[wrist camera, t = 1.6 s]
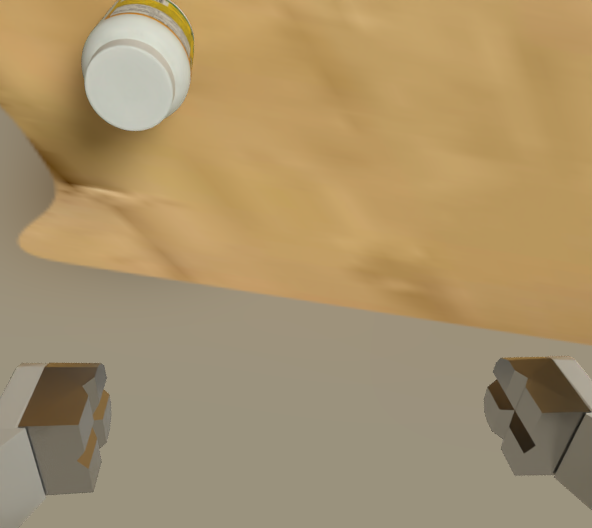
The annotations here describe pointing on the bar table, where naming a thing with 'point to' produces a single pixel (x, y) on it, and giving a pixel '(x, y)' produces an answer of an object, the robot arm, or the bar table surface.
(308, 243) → the bar table surface
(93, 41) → the supplement bottle
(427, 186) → the bar table surface
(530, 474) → the robot arm
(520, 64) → the bar table surface
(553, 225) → the bar table surface
